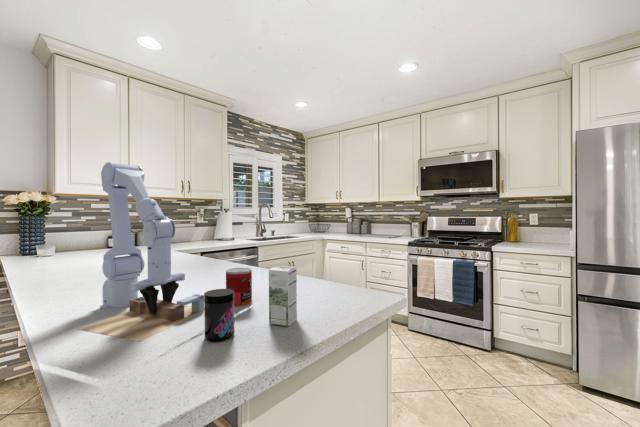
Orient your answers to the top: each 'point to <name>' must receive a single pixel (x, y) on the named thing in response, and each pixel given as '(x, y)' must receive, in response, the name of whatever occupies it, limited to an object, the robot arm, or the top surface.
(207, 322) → the supplement container
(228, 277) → the canned food
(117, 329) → the board
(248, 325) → the top surface
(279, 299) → the syrup box
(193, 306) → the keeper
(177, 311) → the link
